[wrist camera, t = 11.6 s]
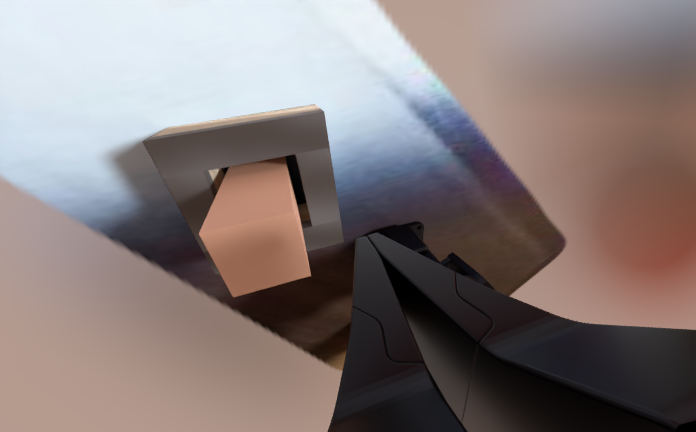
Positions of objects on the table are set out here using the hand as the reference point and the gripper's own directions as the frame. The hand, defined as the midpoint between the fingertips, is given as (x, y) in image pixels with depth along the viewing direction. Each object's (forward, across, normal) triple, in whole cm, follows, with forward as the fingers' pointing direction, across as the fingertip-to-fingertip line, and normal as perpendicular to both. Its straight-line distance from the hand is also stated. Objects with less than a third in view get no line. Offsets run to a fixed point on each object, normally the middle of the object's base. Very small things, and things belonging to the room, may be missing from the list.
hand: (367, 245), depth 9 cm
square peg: (+13, +4, +1) cm, 14 cm away
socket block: (+13, +4, +1) cm, 14 cm away
